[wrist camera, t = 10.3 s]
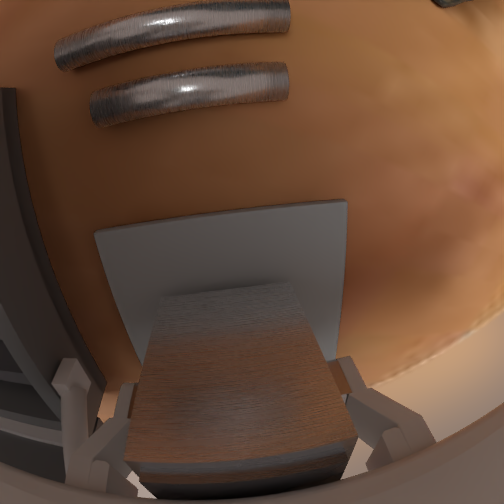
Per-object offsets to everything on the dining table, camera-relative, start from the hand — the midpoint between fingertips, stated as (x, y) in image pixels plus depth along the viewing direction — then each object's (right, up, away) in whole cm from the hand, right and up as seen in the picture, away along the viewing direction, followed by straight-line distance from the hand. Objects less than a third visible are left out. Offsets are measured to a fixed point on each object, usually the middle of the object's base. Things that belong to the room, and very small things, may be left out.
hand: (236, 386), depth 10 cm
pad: (0, +2, +4) cm, 4 cm away
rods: (-2, +11, -1) cm, 12 cm away
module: (0, +1, +3) cm, 3 cm away
